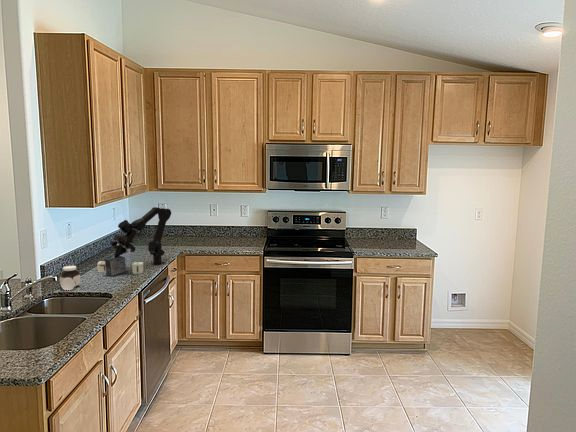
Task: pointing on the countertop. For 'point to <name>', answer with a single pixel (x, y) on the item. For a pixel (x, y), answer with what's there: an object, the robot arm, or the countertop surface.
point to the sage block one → (137, 267)
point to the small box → (115, 266)
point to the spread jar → (70, 278)
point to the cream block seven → (101, 266)
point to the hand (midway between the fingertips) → (114, 257)
